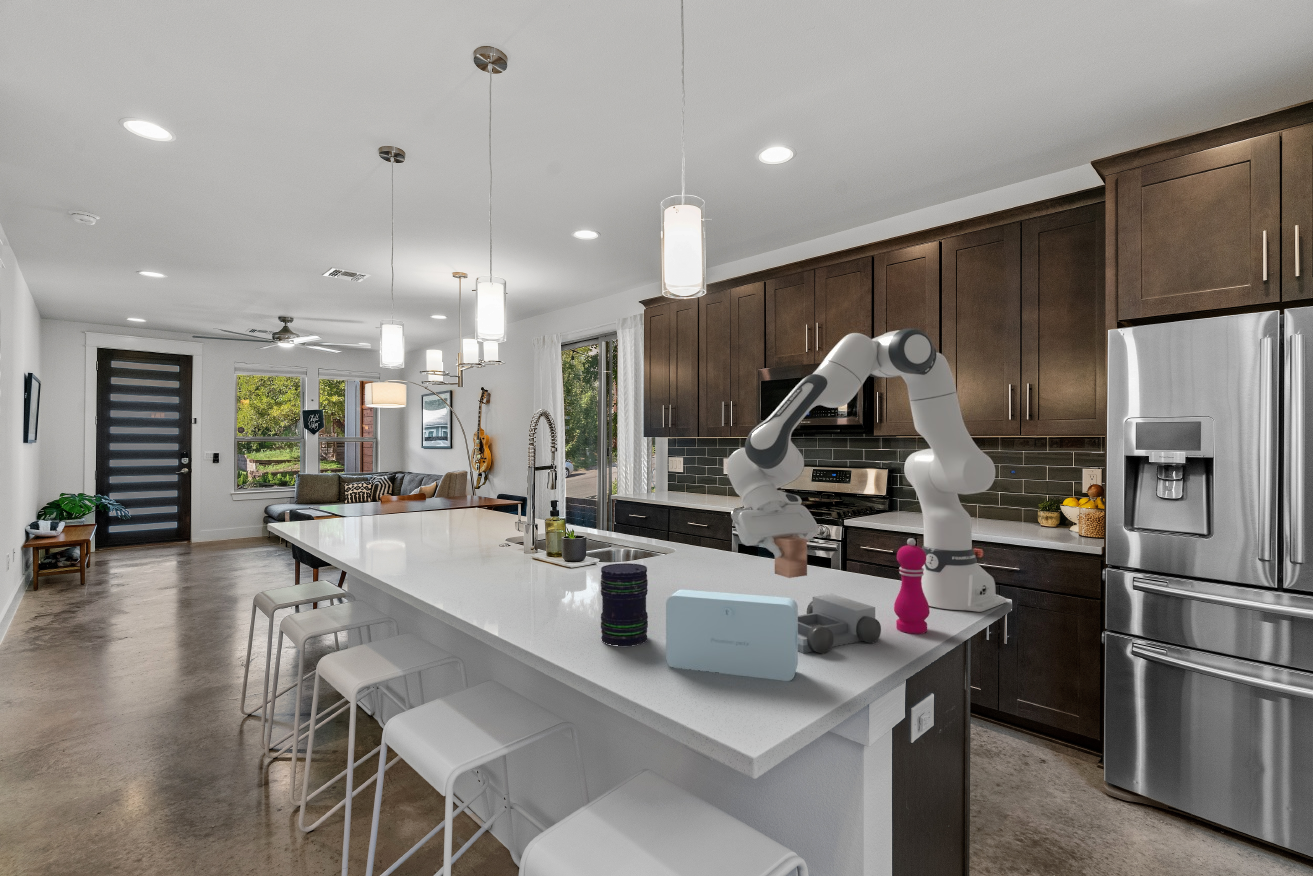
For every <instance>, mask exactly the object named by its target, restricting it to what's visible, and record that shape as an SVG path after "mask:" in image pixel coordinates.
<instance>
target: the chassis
mask: <svg viewBox="0 0 1313 876" xmlns="http://www.w3.org/2000/svg"><path fill="white" fill-rule="evenodd" d="M806 608H807V609H806V614H801V615H798V653H801V654H807V653H810V651H812V652H816V653H818V654H822V655H823V653H824V654H826V653H828V652H829V651H830V650H831V649H832V648H834V647H833V646H836V647H839V646H838V645H840V646H844V645H843V644H845V645H849V644H848V643H850V644H854V643H853V642H855V643H858V641H860V642H865V643H868V644H873V643H872V642H874V643H876V642H877V641H878V640H879V638H880V636H881V633H882V625H881V623H880V621H879V620H878V619H877V618H876V607H875V606H873V605H869V604H866V603H863V602H859V601H855V600H852V599H850V598H846V597H843V596H839V595H836V594H835V593H834V594H833V593H828V594H821V595H813V596H812V600H811V601H810V603H809V604H808V605H807V607H806Z"/></svg>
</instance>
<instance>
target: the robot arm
mask: <svg viewBox="0 0 1313 876" xmlns="http://www.w3.org/2000/svg"><path fill="white" fill-rule="evenodd" d="M869 376H870V377H873V378H876V379H877V378H878V379H883V378H897V377H901V378H902V379H903V381H904V382H905V384H906V387H907V394H908V399H909V404H910V411H911V414H912V419H913V426H914V429H915V430H916V432H917V433H918V434H919V435H920V436H921V437H922V438H923V439H925V442H927V444H928V445H929V447H930V448H926V449H922V450H921V449H920V450H917V451H916V452H915V451H914V452H913V453H911V454H910V455H908V457H907V458H906V460H905V462H904V468H903V470H904V471H903V472H904V476H905V478H906V479H907V481H908V483H910V485H911V486H912V487H913V489H914V491H915V492H916V495H917V498H918V501H919V505H920V509H921V513H922V514H921V515H922V521H923V524H922V525H923V545H922V546H921V548H922V549H923V550H924V552H925V554H926V563H925V564H924V565H923V567H922V568H923V569H924V571H923V573H924V575H923V576H922V580H921V582H922V589H923V593H924V595H925V597H926V600H927V602H928V605H929V607H933V608H937V609H943V610H951V611H953V610H954V611H970V612H978V613H979V612H985V611H987V610H990V609H993V608H994V607H998V606H1000V605H1003V604H1005V603H1007V599H1006V598H1005V596H1001V595H999V594H996V581H995V579H994V577H993V576H992V575H990V574H989V572H987V571H986V570H985V569H984V568H982V567H981V566H980V565H979V564H978V563H977V562H978V561H977V558H982V557H983V556H984V551H983V549H980V548H976V547H975V548H973V546H972V541H973V539H972V538H973V537H972V535H973V532H972V530H973V529H972V522H973V520H972V517H971V515H970V514H969V512H968V511H967V510H966V509H965V508H964V507H963V505H962V504H961V501H960V499H959V495H973V494H979V493H983V492H986V491H988V490H989V489H990V488H991V487H992V485H993V483H994V481H995V478H996V467H995V464H994V462H993V459H991V457H990V456H989V455H987V454H986V453H985V452H983V451H982V450H981V449H980V448H979V447H978V445H977V444H976V442H975V441H974V440H973V438H972V435H970V433H969V431H968V429H967V427H966V425H965V422H964V419H963V416H962V412H961V411H962V410H961V406H960V402H959V396H958V393H957V387H956V383H955V379H954V376H953V373H952V370H951V368H950V365H949V362H948V361H947V358H946V356H944V355H943V353H940V352H937V350H936V348H935V346H934V343H933V341H932V340H931V337H930V336H929V335H928V334H927V333H926V332H925V331H923V330H921V329H917V328H902V329H900V330H893V331H888V332H885V333H884V334H881V335H879V336H875V337H872V338H870V337H869V336H867V335H866V334H862V333H859V332H852V333H851V332H850V333H848V334H847V335H845V336H844V337H842V338H841V339H840V340H839V342H837V343H836V344H835V346H834V347H833V348H832V349H831V350H830V351H829V353H828V354H827V355H826V357H825V358H824V359H823V360H822V362H821V363H820V364H819V366H818V367H817V368H816V369H815V370H814V371H813V373H812V374H809V375H807V376H806V377H804V378H802V379H801V380H800V382H798V383H797V384H796V385H795V387H794V388H793V389H792V390H791V391H790V392H789V393H788V395H786V397H785V398H784V399H783V400H782V401H781V402H780V403H779V405H778V406H777V407H776V408H775V410H774V411H772V413H771V414H770V415H769V416H768V417H767V418H766V419H765V420H764V421H762V422H760V423H759V424H758V425H757V426H755V427H754V428H753V429H752V430H751V431H750V432H749V433H748V434H747V438H746V440H745V443H744V447H741V448H739V449H736V450H735V451H733V453H731V455H729V457H728V458H727V461H726V465H725V466H726V473H727V476H728V479H729V481H730V483H731V486H732V487H733V489H734V491H735V493H736V494H737V495H738V496H739V497H740V499H741V503H742V506H743V508H738V507H737V508H733V511H731V513H730V517H731V519H732V522H733V523H734V527H735V530H736V533H737V535H738V537H739V540H740V542H741V543H742V544H743V545H745V546H747V547H748V546H757V545H758V546H759V545H763V546H764V548H765V549H767V550H768V551H769V552H771V553H773V555H774V558H775V557H776V558H783V556H784V555H785V553H784V551H783V549H782V547H780V548H779V547H778V546H777V545H776V544H774V538H779V537H789V536H794V537H799V538H803V539H807V540H811V539H813V538H814V537H815V536H816V534H817V533H818V531H819V525H818V524H817V521H816V520H815V518H814V517H813V515H812V513H811V512H810V511H809V509H808V508H807V507H806V506H805V505H802V501H803V500H802V499H801V497H800V496H799V495H796V494H792V493H788V492H785V491H782V490H778V489H780V488H782V487H785V486H786V485H789V484H791V483H793V482H795V481H796V480H798V479H799V478H800V477H801V475H802V473H803V472H804V470H805V469H804V468H805V459H804V456H803V454H802V453H801V452H800V451H799V448H797V447H796V445H795V444H794V443H793V441H792V440H791V439H792V438H791V437H792V434H793V432H794V430H795V429H796V427H797V426H798V425H799V423H801V422H802V420H803V419H804V418H805V417H806V416H807V415H808V414H809V412H810V411H811V410H812V409H813V408H815V407H816V406H823V407H826V408H830V409H831V408H832V409H833V408H834V409H837V408H841V407H844V406H846V405H847V404H848V403H849V402H851V400H853V398H854V397H855V396H856V395H857V393H858V392H859V390H860V389H861V387H862V386H863V385H864V383H865V381H866V380H867V378H868V377H869ZM807 553H808V549H807Z"/></svg>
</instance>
